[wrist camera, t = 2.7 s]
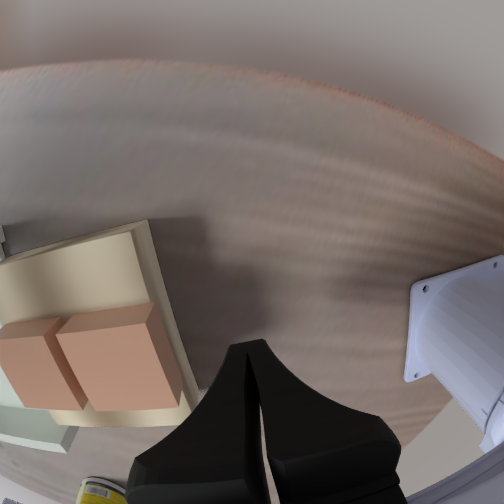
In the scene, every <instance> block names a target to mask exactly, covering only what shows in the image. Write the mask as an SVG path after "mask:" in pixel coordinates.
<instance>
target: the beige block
mask: <svg viewBox="0 0 504 504" xmlns="http://www.w3.org/2000/svg"><path fill="white" fill-rule="evenodd" d="M151 302H156V305H157V308H158V311H159V314H160V317H161V320H162V323H163V326H164V329H165V332H166V335H167V338H168V341H169V344H170V347H171V349H172V352H173V355H174V358H175V360H176V363H177V366H178V368H179V371H180V374H181V376H182V379H183V386H182V392H181V398H180V404H179V407H177V408H166V409H151V410H132V411H95V409H94V408H93V406H92V404H91V403H90V401H89V400H88V402H87V404H86V406H85V408H84V410H83V411H69V410H50V409H47V410H48V411H49V413H50V414H51V416H52V417H53V419H54V420H55V422H56V423H57V425H69V426H86V427H152V426H170V425H180V424H181V423H182V422H183V421H184V420H185V419H186V418H187V417H188V416H189V415H190V414H191V413H192V411H193V410H194V409H195V408H196V407H197V405H198V398H199V389H198V386H197V383H196V380H195V378H194V375H193V372H192V369H191V367H190V364H189V361H188V358H187V355H186V352H185V349H184V346H183V343H182V340H181V337H180V334H179V331H178V328H177V325H176V322H175V318H174V315H173V312H172V309H171V305H170V302H169V299H168V295H167V292H166V288H165V285H164V281H163V278H162V274H161V270H160V267H159V263H158V259H157V255H156V252H155V248H154V244H153V240H152V236H151V232H150V228H149V223H148V220H143V221H139V222H135V223H131V224H127V225H122V226H118V227H114V228H110V229H106V230H102V231H98V232H94V233H91V234H87V235H83V236H79V237H75V238H72V239H68V240H64V241H61V242H57V243H53V244H50V245H46V246H43V247H39V248H36V249H32V250H29V251H26V252H22V253H19V254H16V255H12V256H9V257H8V258H6V259H4V260H2V261H0V322H1V324H2V326H4V325H5V324H9V323H17V322H25V321H32V320H40V319H47V318H54V317H62V320H63V322H64V324H65V323H66V322H67V321H68V320H69V319H70V318H71V317H72V316H73V315H75V314H82V313H89V312H95V311H102V310H108V309H114V308H121V307H127V306H133V305H139V304H145V303H151Z"/></svg>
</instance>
